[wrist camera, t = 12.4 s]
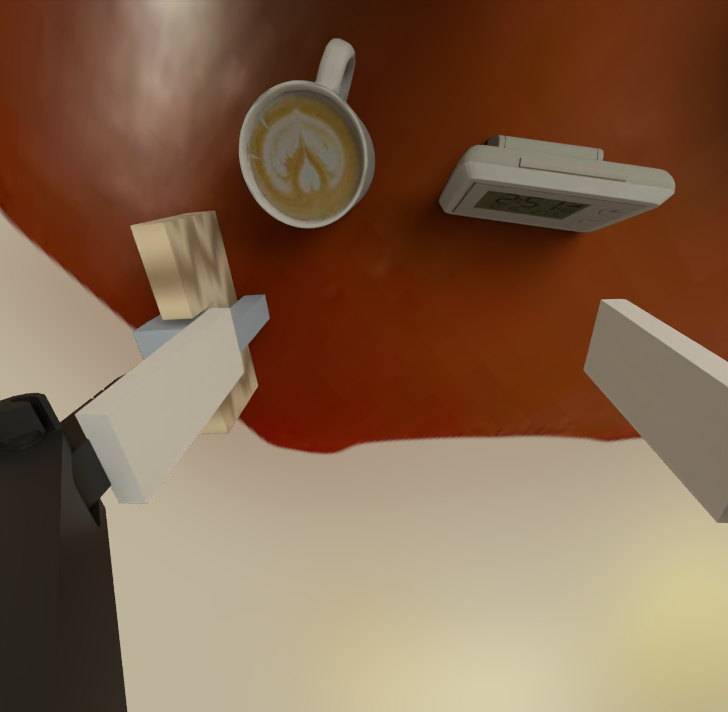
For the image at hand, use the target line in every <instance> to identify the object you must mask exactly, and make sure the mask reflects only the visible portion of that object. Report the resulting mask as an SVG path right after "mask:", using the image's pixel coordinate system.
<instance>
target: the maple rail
mask: <svg viewBox="0 0 728 712" xmlns="http://www.w3.org/2000/svg"><path fill="white" fill-rule="evenodd" d="M130 227H131V230H132V232H133V235H134V238H135V241H136V244H137V247H138V250H139V253H140V256H141V258H142V261H143V264H144V267H145V270H146V273H147V276H148V279H149V282H150V285H151V287H152V290H153V293H154V296H155V299H156V302H157V305H158V308H159V311H160V314H161V316H162V319H163V320H170V319H189V318H194V317H195V316H196V315H198V314H199V313H200V312H202V311H207V310H209V309H210V308H230V307H232V306H233V305H234V304H235V303H236V302H237V297H236V293H235V289H234V285H233V281H232V277H231V273H230V269H229V265H228V261H227V257H226V252H225V248H224V244H223V240H222V236H221V232H220V228H219V224H218V220H217V216H216V212H215V211H204V212H192V213H186V214H181V215H177V216H172V217H168V218H163V219H158V220H154V221H149V222H145V223H140V224H136V225H131V226H130ZM240 355H241V359H242V363H243V368H244V373H243V374H242V376H241V377H240V379H239V380H238V381H237V383H236V384H235V385H234V387H233V388H232V390H231V391H230V392H229V394H228V395H227V396H226V398H225V399H224V400H223V402H222V403H221V405H220V406H219V407H218V409H217V410H216V411H215V413H214V414H213V415H212V417H211V418H210V420H209V421H208V422H207V424H206V425H205V426H204V428H203V429H202V431H201V432H202V434H227V433H229V431H230V429H231V428H232V426H233V425H234V423H235V422H236V420H237V419H238V417H239V415H240V414H241V412H242V411H243V409H244V408H245V406H246V404H247V403H248V401H249V400H250V398H251V396H252V395H253V393H254V392H255V390H256V389H257V387H258V383H257V379H256V375H255V371H254V367H253V363H252V359H251V355H250V351H249V347H248V345H247V346H246V347H245V348H244V350H243V351H242V352H241V353H240Z"/></svg>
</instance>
